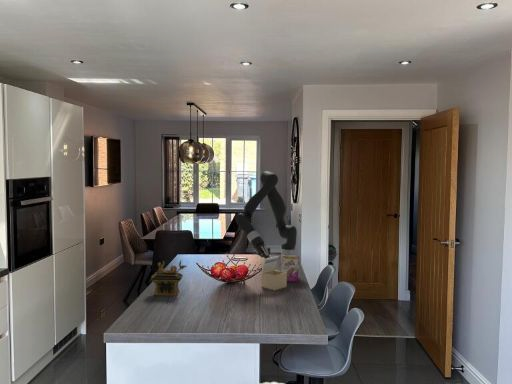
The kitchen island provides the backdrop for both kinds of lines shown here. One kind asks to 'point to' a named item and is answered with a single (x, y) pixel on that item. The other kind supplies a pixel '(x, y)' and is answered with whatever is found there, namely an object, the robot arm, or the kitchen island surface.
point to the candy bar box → (290, 267)
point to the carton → (274, 280)
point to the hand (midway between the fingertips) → (270, 261)
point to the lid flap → (270, 263)
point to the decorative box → (167, 280)
